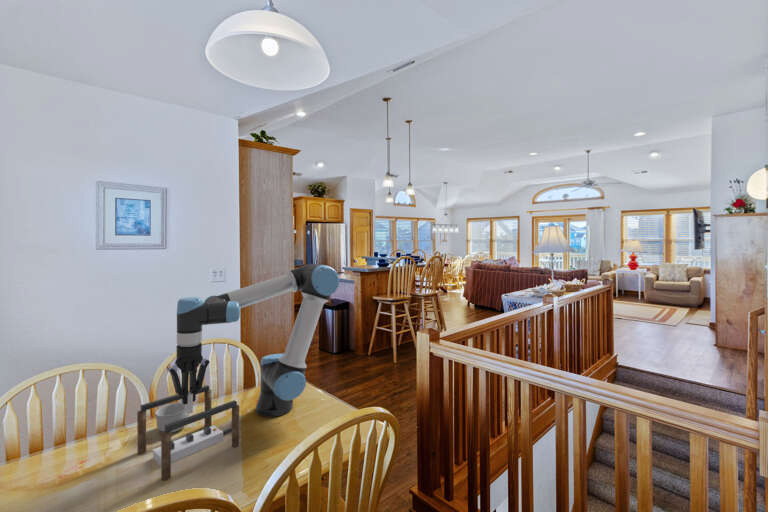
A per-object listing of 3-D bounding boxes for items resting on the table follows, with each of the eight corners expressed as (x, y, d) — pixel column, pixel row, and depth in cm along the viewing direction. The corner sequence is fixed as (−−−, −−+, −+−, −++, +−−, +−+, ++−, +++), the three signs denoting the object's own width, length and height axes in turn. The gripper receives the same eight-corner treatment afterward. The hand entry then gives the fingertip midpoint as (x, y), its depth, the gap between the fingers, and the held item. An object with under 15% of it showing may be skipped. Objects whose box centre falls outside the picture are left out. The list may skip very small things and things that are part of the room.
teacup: (173, 438, 127) (173, 416, 127) (148, 434, 129) (148, 413, 129) (201, 419, 141) (201, 399, 140) (177, 416, 143) (177, 397, 143)
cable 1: (207, 389, 136) (207, 385, 136) (209, 390, 135) (209, 386, 135) (140, 409, 118) (140, 405, 118) (142, 411, 117) (142, 406, 117)
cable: (234, 404, 123) (234, 400, 123) (236, 406, 122) (236, 401, 122) (164, 430, 106) (164, 425, 106) (167, 432, 105) (167, 427, 105)
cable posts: (209, 424, 137) (209, 388, 137) (240, 445, 124) (240, 406, 123) (136, 452, 118) (136, 411, 118) (163, 481, 104) (163, 435, 104)
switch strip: (229, 426, 136) (229, 414, 136) (238, 433, 131) (239, 420, 131) (152, 458, 115) (152, 444, 115) (161, 467, 111) (161, 452, 111)
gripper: (203, 337, 127) (202, 402, 128) (163, 345, 117) (163, 415, 117) (213, 341, 122) (213, 408, 123) (173, 350, 112) (172, 423, 113)
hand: (188, 412), depth 120 cm, fingers closed
